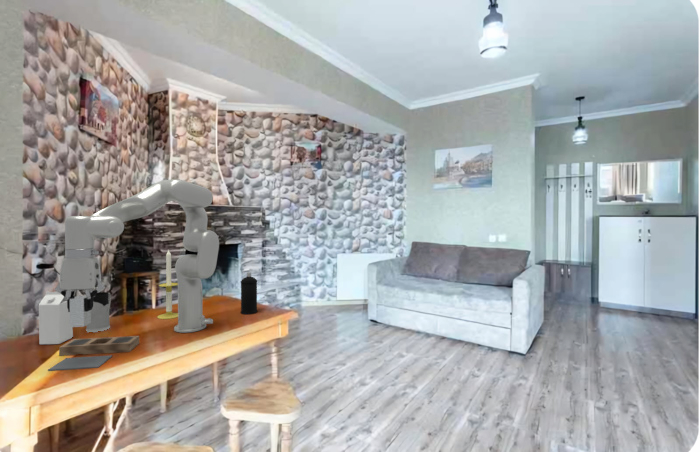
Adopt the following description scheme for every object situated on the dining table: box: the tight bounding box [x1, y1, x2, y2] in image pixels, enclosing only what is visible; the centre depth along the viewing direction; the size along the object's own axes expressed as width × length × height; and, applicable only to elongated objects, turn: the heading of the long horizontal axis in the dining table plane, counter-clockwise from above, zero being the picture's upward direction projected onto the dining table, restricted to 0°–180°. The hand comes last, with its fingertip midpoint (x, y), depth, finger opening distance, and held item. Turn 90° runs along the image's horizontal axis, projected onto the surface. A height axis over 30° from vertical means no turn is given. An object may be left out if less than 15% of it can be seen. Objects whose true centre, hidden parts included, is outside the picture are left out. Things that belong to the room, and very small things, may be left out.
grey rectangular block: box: [70, 295, 91, 328], centre depth 112 cm, size 4×4×9 cm
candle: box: [157, 248, 178, 320], centre depth 167 cm, size 10×10×32 cm
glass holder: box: [85, 291, 112, 333], centre depth 150 cm, size 9×14×15 cm, turn 9°
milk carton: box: [38, 291, 74, 345], centre depth 133 cm, size 7×7×19 cm
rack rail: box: [58, 335, 140, 357], centre depth 125 cm, size 22×8×3 cm, turn 100°
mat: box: [47, 354, 113, 372], centre depth 113 cm, size 14×9×1 cm, turn 100°
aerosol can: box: [239, 271, 258, 315], centre depth 174 cm, size 8×8×20 cm
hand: (80, 310), depth 112 cm, fingers closed on grey rectangular block, 4 cm apart
